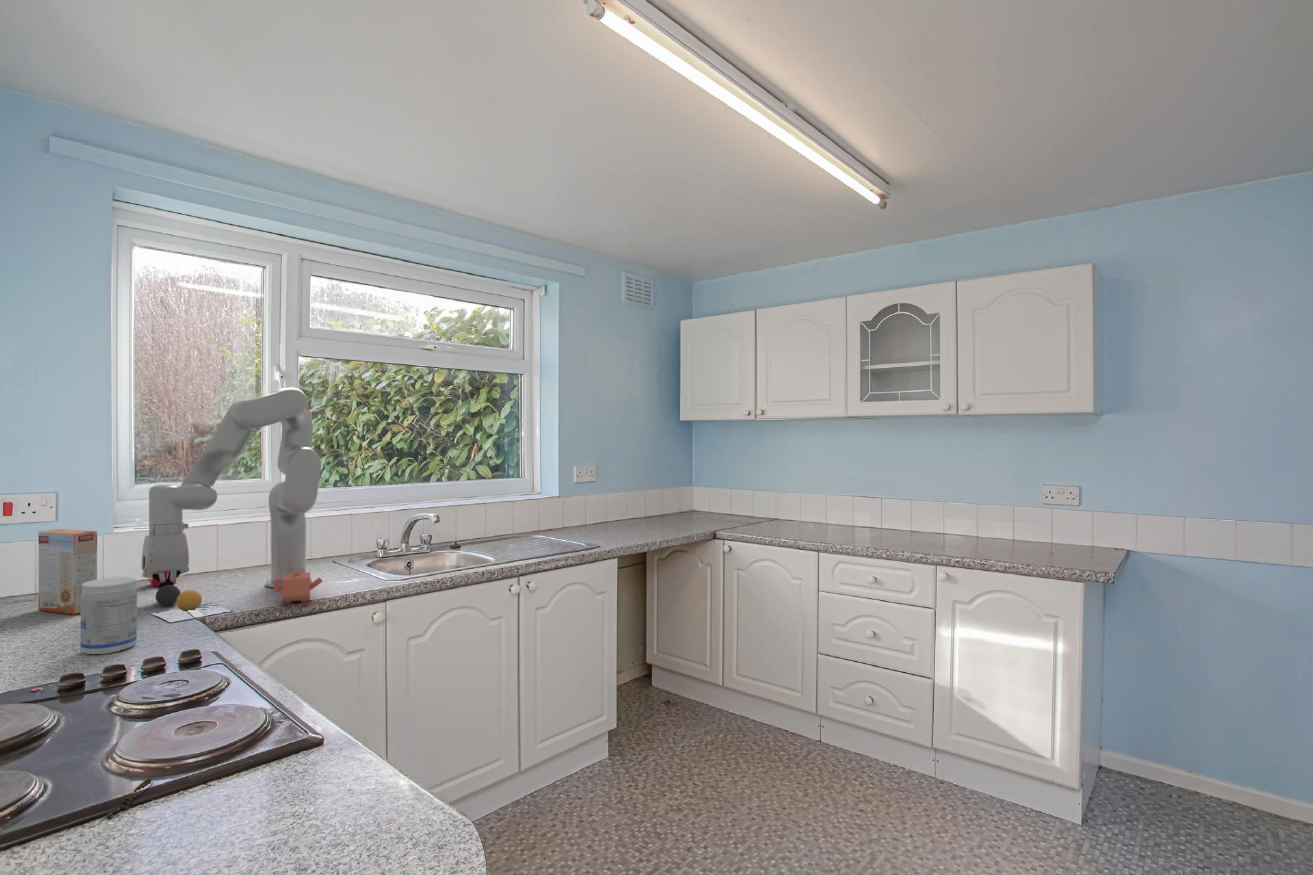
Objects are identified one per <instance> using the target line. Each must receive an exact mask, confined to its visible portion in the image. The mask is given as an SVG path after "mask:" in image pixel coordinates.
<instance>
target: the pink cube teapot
mask: <svg viewBox="0 0 1313 875" xmlns="http://www.w3.org/2000/svg"><path fill="white" fill-rule="evenodd" d="M310 577H311V572H306V573H300V571H295V572H293V574H284V575H283V578H279V579H275V580H274V587H273V590H274V593H276V594H277V593H278V594H280V595H281V602H282V603H284V605H290V604H293V602H297V601H299V602H300V603H303V604H305V603H308V601H309V600H310V598H311V591H312V590H313V589H314V588H316V587H317V586H318V585H320V584H322V583H323V579H322V578H320V577H317V578H316V579H315V580H314V581H313V582H312V583H311V582H310ZM281 581H282V588H279V584H278V582H281Z"/></svg>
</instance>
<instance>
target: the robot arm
mask: <svg viewBox="0 0 1313 875" xmlns="http://www.w3.org/2000/svg"><path fill="white" fill-rule="evenodd" d="M308 400H309V399H308V397H307V395H306V394H305V393H304V391H302V390H301V389H299V388H295V387H287V388H286V387H285V388H278V389H274V390H272V391H271V392H269V394H266V395H263V396H260V397H256V398H252V399H245V400H243V399H242V400H239V401H236V402H234V403H233V404H232V405H230V406H229V408H228V409H227V411H226V412H225V415H224V417H223V418H222V420H221V421H220V423H219V425H218V427H217V429H216V430H215V432H214V434H213V435H212V437H211V439H210V440H209V442H208V444H207V445H206V447H205V448H204V449H203V451H202V452H201V453H200V455H199V456H198V458H196V460H195V462H194V463H193V464H192V466H191V467H190V469H189V471H188V472H187V474H186V476H185V477H184V479H183V481H182V483H181V484H180V485H179V484H158V485H153V486H151V487H150V488H149V491H148V535H145V536H144V539H143V540H144V541H143V545H142V552H141V566H140V567H141V570H142V574H141V577H142V578H146V579H153V578H154V579H155V580H156V581H158V582H159V586H158V590H159V589H160V588H161V587H163V586H166V585H174V584H173V582H174V581H175V579H176V580H177V578H178V577H179V576H180V575H181V574H185V573H188V572H189V571H190V567H189V565H190V554H189V552H190V550H189V546H188V545H189V544H188V540H187V535H186V533H185V532H184V530H185V529H189V523H185V522H184V521H183V520H184V517H183V515H184V514H183V510H186V511H187V510H189V511H202V510H203V511H204V510H207V509H209V508H211V507H213V506H214V505H215V503H216V502H217V499H218V493H217V491H216V489H215V488H214V485H215V484H216V481H217V480H218V478H219V477H220V476H221V474H222V473H223V472H224V471H225V470H226V469H227V468H228V467H229V466H231V465H232V464H233V463H235V462H236V461H237V460H238V459H239V458H240V456H242V453H243V451H244V449H245V448H246V445H247V443H248V441H250V439H251V437H252V435H253V433H254V432H255V430H257V429H260V428H264V427H267V426H271V425H273V424H276V423H280V424H281V425H280V426H281V439H280V446H279V450H278V452H279V453H278V457H277V461H276V462H277V468H278V470H279V471H280V472H281V474H283V475H284V476H285V479H284V480H283V481H280V482H278V483H276V484H275V485H274V486H272V488H271V489H270V492H269V493H268V494H269V495H268V509H269V515H270V516H269V517H270V578H269V579H267V580H265V582H264V586H265V587H267V588H274V580H275V579H279V578H283V575H284V574H293V572H295V571H300V573H307V563H306V562H307V523H306V522H307V521H306V513H308V512H309V511H311V509H312V508H313V507H314V506H315V504H316V501H317V497H318V494H319V493H318V492H319V486H320V479H321V472H322V460H321V458H320V455H319V454H318V452H317V451H316V450H315V449H313V448H312V444H313V435H314V434H313V433H314V425H313V420H312V418H311V415H310V414H309V411H308V410H307V407H308ZM165 571H168V575H167V579H166V580H165V576H164V572H165ZM155 573H156V574H155ZM311 582H312V577H311V576H310V583H311ZM278 584H279V588H282V581H281V582H278Z"/></svg>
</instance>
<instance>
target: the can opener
mask: <svg viewBox="0 0 1313 875" xmlns="http://www.w3.org/2000/svg"><path fill="white" fill-rule="evenodd" d="M151 781H152V782H153V780H152V779H149V778H147V779H146V780H144V781H143V782H141V783H140V784H139V785H138V786H137V787H135V788H134V790H133V791H134V792H136V791H137V790H140V789H141V788H144V787H145V786H147V785H148V784H150V783H151ZM132 799H133V796H132V795H131V796H129V795H128V797H127V796H126V797H125V798H124V799H123V800H122V801H121V803H120V805H119V806H118V807H116V808H113V809H111V810H110V811H109V812H108V813H107V814H106V815H105V816H104V817H103V818H102V819H101V820H100V822H99V823H101V822H103V820H105V819H106V820H112V819H113V818H112V815H118V814H119V812H120V811H122V812H124V811H126V810H128V809H129V808H130V805H131V804H132V803H133V802H132ZM131 802H132V803H131Z"/></svg>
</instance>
